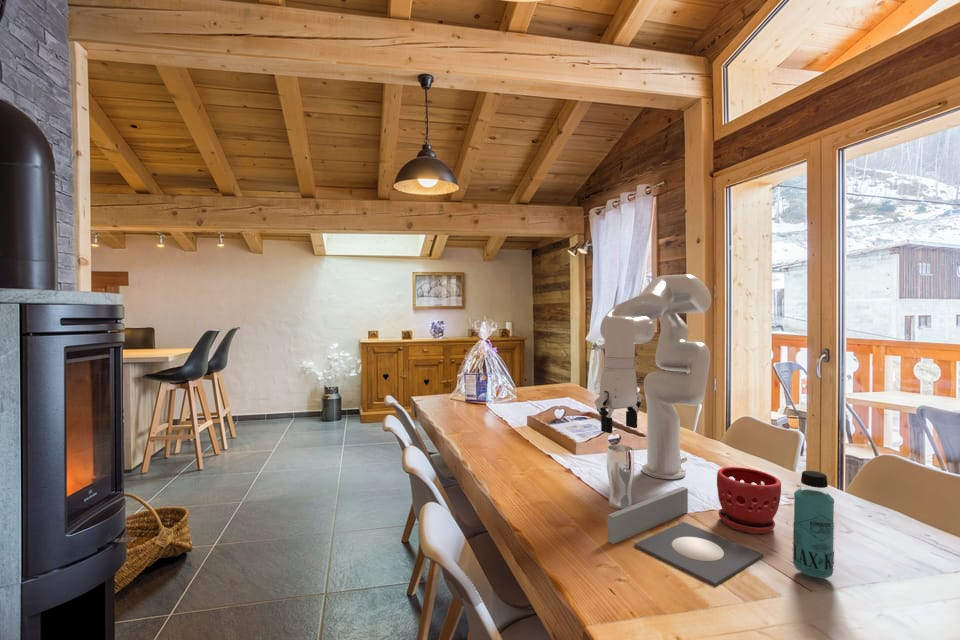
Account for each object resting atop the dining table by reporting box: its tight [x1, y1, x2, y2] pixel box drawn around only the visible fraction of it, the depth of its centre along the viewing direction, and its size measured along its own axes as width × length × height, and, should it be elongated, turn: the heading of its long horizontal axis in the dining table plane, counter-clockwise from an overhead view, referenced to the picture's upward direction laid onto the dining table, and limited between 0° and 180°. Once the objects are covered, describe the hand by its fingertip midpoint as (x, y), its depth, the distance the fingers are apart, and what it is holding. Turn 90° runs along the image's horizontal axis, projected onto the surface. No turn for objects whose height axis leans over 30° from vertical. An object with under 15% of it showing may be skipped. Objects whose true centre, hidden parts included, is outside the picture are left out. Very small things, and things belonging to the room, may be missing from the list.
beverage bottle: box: [791, 470, 835, 579], centre depth 90 cm, size 6×7×20 cm
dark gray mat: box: [634, 521, 764, 587], centre depth 100 cm, size 18×18×1 cm
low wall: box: [607, 486, 689, 545], centre depth 112 cm, size 28×2×6 cm, turn 124°
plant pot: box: [716, 466, 782, 534], centre depth 111 cm, size 13×13×12 cm
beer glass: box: [606, 444, 635, 510], centre depth 124 cm, size 7×7×15 cm
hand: (619, 429), depth 123 cm, fingers open, 9 cm apart
